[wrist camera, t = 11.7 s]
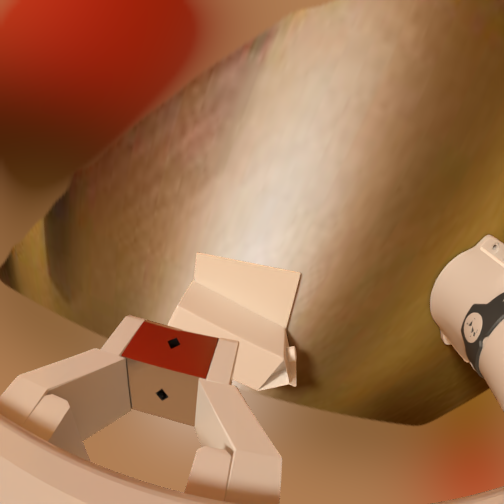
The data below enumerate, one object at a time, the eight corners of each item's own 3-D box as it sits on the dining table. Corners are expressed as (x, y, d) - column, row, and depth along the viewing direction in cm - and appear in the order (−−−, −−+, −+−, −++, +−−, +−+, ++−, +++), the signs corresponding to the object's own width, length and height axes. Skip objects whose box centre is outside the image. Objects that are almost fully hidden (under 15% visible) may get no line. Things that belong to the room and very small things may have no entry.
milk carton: (173, 315, 47) (283, 369, 49) (158, 343, 41) (282, 401, 42) (191, 279, 45) (308, 338, 46) (176, 304, 38) (310, 370, 40)
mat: (300, 272, 43) (300, 273, 43) (280, 348, 48) (280, 349, 48) (197, 252, 44) (196, 253, 43) (190, 329, 48) (189, 331, 48)
